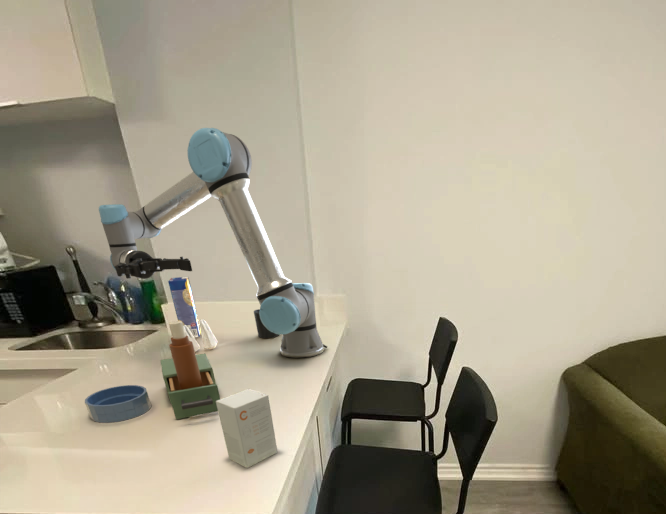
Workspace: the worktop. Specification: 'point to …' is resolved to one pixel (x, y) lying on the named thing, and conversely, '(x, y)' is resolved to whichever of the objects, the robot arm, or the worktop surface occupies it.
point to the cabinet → (170, 371)
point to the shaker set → (207, 336)
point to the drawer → (194, 397)
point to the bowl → (118, 403)
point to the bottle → (184, 357)
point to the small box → (247, 427)
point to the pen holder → (262, 327)
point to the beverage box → (184, 303)
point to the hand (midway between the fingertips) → (165, 268)
